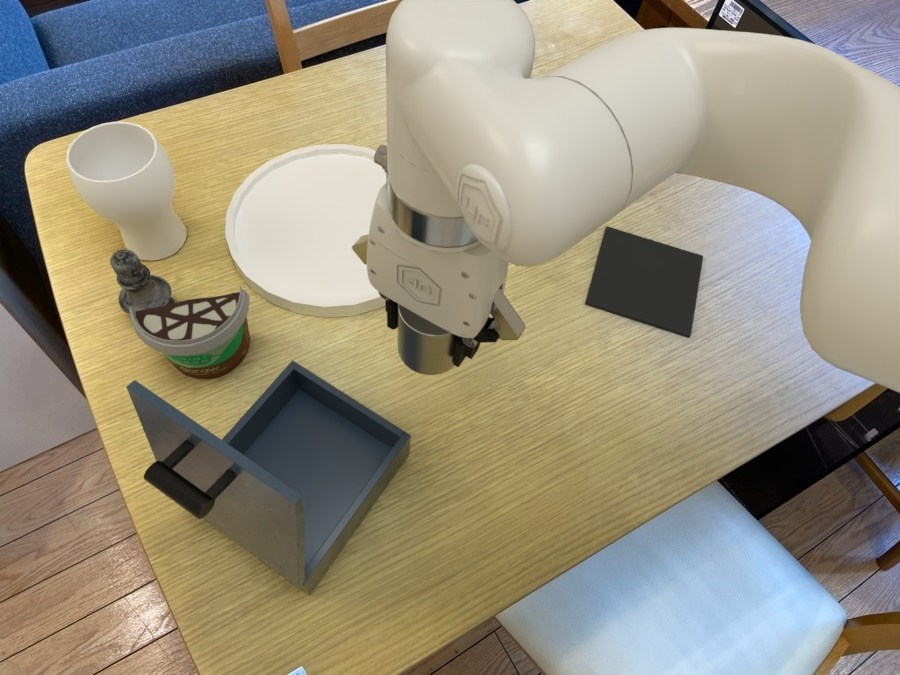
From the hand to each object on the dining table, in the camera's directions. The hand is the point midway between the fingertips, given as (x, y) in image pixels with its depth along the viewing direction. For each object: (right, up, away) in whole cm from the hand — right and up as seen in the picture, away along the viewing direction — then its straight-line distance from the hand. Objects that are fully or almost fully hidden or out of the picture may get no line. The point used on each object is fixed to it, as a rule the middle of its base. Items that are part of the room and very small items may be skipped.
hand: (431, 334), depth 56 cm
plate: (-14, +14, +30) cm, 36 cm away
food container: (-26, -4, +18) cm, 32 cm away
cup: (-37, +13, +27) cm, 47 cm away
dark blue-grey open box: (-14, -16, +12) cm, 24 cm away
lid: (-17, -13, -4) cm, 21 cm away
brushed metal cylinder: (0, -1, +2) cm, 2 cm away
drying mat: (+28, +8, +29) cm, 41 cm away
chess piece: (-35, +3, +21) cm, 41 cm away
